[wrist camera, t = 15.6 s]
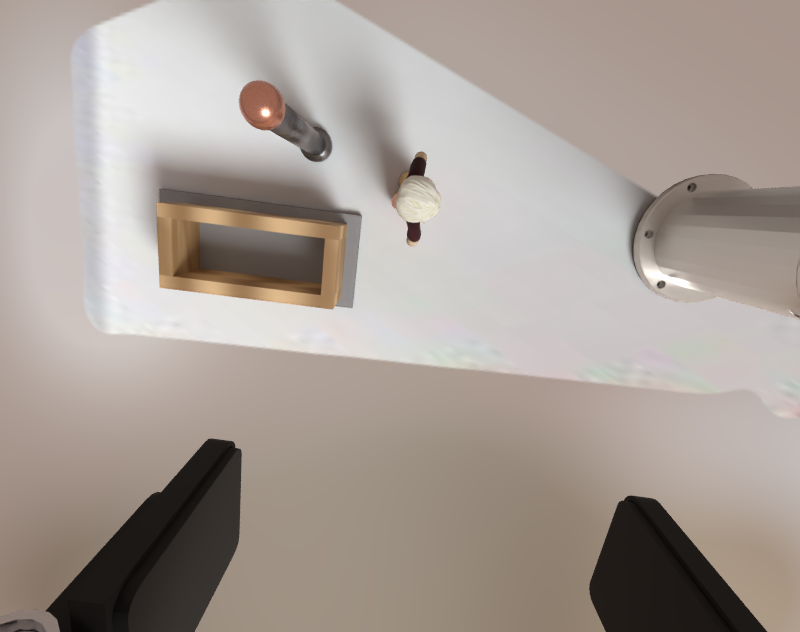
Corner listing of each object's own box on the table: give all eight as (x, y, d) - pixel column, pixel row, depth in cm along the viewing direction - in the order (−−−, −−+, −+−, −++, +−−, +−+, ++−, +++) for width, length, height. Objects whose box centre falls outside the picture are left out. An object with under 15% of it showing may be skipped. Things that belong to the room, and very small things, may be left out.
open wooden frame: (347, 224, 39) (339, 226, 34) (340, 297, 41) (332, 309, 36) (187, 203, 38) (156, 202, 34) (188, 278, 40) (159, 287, 36)
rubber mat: (361, 215, 39) (361, 215, 39) (352, 307, 42) (352, 308, 41) (162, 189, 39) (159, 188, 38) (165, 283, 41) (162, 284, 41)
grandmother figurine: (387, 163, 38) (380, 141, 26) (426, 158, 38) (438, 134, 25) (396, 242, 40) (393, 257, 28) (433, 238, 40) (447, 252, 27)
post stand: (333, 130, 37) (282, 73, 21) (331, 164, 38) (280, 132, 22) (302, 126, 37) (227, 66, 21) (300, 159, 38) (227, 125, 22)
